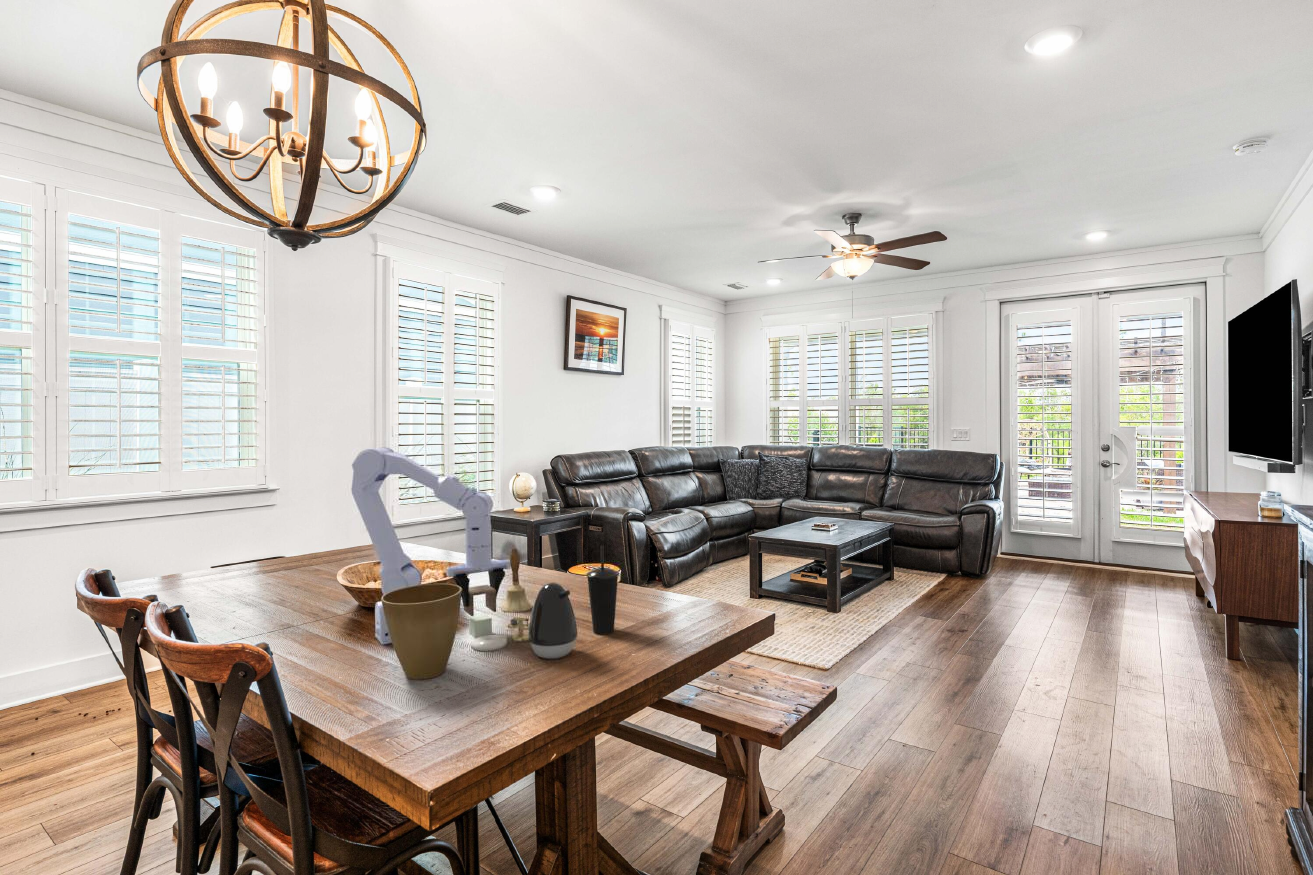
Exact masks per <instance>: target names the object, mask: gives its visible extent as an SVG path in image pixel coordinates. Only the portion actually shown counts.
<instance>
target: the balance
mask: <svg viewBox="0 0 1313 875" xmlns="http://www.w3.org/2000/svg"><path fill="white" fill-rule="evenodd" d="M524 622H526V623H525V624H524ZM529 622H530V619H529V618H526V617H517V616H515V617H512V619H510V623H508V624H507V628H508V629H517V630H518V633H516V634H515V635H513V636H512V642H513V643H517V644H518V643H526V642H529V639H528V633H524V630H525V631H526V630H528V631H529V624H530V623H529Z"/></svg>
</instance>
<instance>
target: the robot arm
mask: <svg viewBox="0 0 1313 875" xmlns="http://www.w3.org/2000/svg"><path fill="white" fill-rule="evenodd" d="M351 467H352V471H353V472H352V481H351V482H352V483H351V494H352V496H353V500H354V501H355V504H356V506H357V509H358V511H359V514H360V516H361V518H362V521H363V523H364V526H365V528H366V530H367V532H368V536H369V537H370V540H371V543H372V544H373V547H374V550H375V552H376V554H377V557H378V559H379V562H380V567H379V573H378V575H379V577H380V580H381V586H380V589H381V592H382V596H383V595H385V594H386V593H388V592H391V591H393V590H397V589H400V588H405V587H409V586H415V585H422V582H423V575H422V572H421V571H420V569H419V568H418V567H417V566H415V564H414V563H413V561H412V559H411V558H410V557H409V556H408V555H407V554H406V553H404V550H403V548H402V544H401V542H400V541H399V538H398V535H397V532H396V531H395V528H394V526H393V523H392V520H391V519H390V516H389V514H388V510H387V509H386V507H385V504H384V501H383V500H382V496H381V495H380V492H379V491H380V489H381V487H382V485H383V484H384V482H385V480H386V478H388V477H389V475H390V476H391V475H402V476H404V477H407V478H409V480H413V481H415V482H417V483H419V484H421V485H423V486H424V487H427V488H429V489H431V490H432V491H433V493H434V497H435V498H436V499H437V500H440V501H442V502H443V503H446V504H447V505H449V506H450V507H453V508H455V509H456V510H458V511H461V512H462V514H463V516H464V517H465V563H463V564H458V565H454V566H449V567H446V570H445V571H446V577H448V578H453V581H454V582H455V585H458V586H460V587H461V588H462V594H461V602H462V605H464V606H465V607H469V587H470V580H471V579H470V578H469V577H468V575H470V574H478V573H479V574H480V573H485V572H487V573H488V580H489V586H490V587H492V588H494V589H495V590H496V599H497V597H498V592H499V590H500V587H501V584H502V583H503V582H502V581H504V580H503V579H504V578H505V577H506V571H505V570H511V566H510V559H499V560H492V524H491V520H492V519H491V514H490V513H491V512H492V510H493V508H494V503H493V499H492V497H491V496H490V495H489V494H487V492H486V491H478V488H476V487H470V486H469V485H467V484H465V483H463V482H461V481H460V478H459V477H457V476H455V475H454V476H450V475H446V476H443V477H441V476H439V475H437V474H436V473H434V472H433V471H431V470H429V469H428V468H426V467H424V466H422V465H421V464H419V463H418V462H416V461H415V460H413V459H411V458H410V457H408V456H406V455H405V454H403V453H401V452H398V451H395V450H393V449H392V448H390V447H385V446H383V447H380V448H366V449H363V450H362V451H360V452H359V453H358V455H357V456H356V458H354V460H353V462H352V463H351ZM374 621H375V622H374V624H375V635H374V636H375V638H376V639H377V640H378V641H379V643H380V644H381V645H388V644H389V645H390V644H392V641H391V638H390V634H389V631H388V627H387V624H386V619H385V615H384V610H383V605H382V600H380V601H377V602H375V606H374Z"/></svg>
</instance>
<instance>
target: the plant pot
mask: <svg viewBox="0 0 1313 875" xmlns="http://www.w3.org/2000/svg"><path fill="white" fill-rule="evenodd" d="M461 594H462V588H461V587H460V586H458V585H457V584H453V583H425V584H423V583H422V584H420V585H415V586H409V587H405V588H400V589H397V590H393V591H391V592H388V593H386V594H385V595H383V594H382V596H381V599H380V601H382V605H383V610H384V615H385V619H386V624H387V627H388V631H389V634H390V638H391V641H392V643H391V644H392V646H393V650H394V652H395V654H396V658H397V659H398V662H399V664H400V666H401V668H402V672H403V673H404V675H405V677H406V678H408V679H410V680H413V681H415V680H418V681H419V680H420V681H421V680H427V679H428V680H429V679H432V678H436V677H438V676H440V675H443V674H444V673H445V671H446V668H448V667H447V666H448V663H449V660H450V656H451V654H452V650H453V647H454V642H455V638H456V635H457V628H458V624H459V618H460V612H461V602H462V597H461Z"/></svg>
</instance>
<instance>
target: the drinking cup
mask: <svg viewBox="0 0 1313 875" xmlns="http://www.w3.org/2000/svg"><path fill="white" fill-rule="evenodd" d="M604 548H605V546H604V545H600V567H597V568H593V569H592V570H590V571H588V572H587V573H585V575H586V578H587V585H588V596H589V604H590V614H591V621H592V631H593V632H592V633H594V634H595V635H600V636H602V635H610V634H613V633H614V632H615V624H616V621H615V620H616V606H617V594H618V582H619V581H618V579H619V576H620V572H619V571H618V570H614V569H613V568H610V567H605V553H604V552H605V551H604V550H605V549H604Z"/></svg>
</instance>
